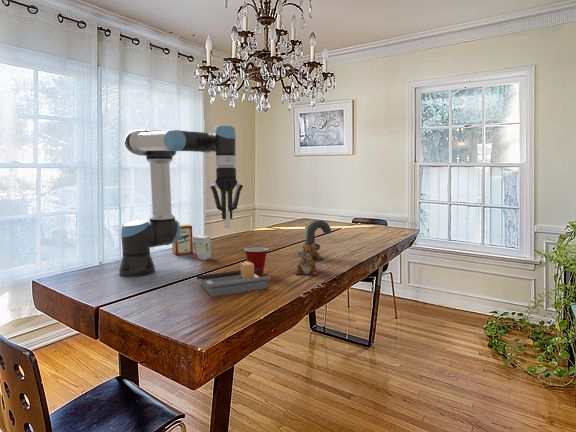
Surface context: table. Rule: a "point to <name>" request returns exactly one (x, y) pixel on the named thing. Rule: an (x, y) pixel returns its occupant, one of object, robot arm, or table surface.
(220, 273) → the grey tray
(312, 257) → the stuffed squirrel
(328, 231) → the faucet
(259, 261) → the plastic cup
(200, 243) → the ink box
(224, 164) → the robot arm
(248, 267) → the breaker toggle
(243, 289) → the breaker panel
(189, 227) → the orange cardboard box
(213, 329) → the table surface
